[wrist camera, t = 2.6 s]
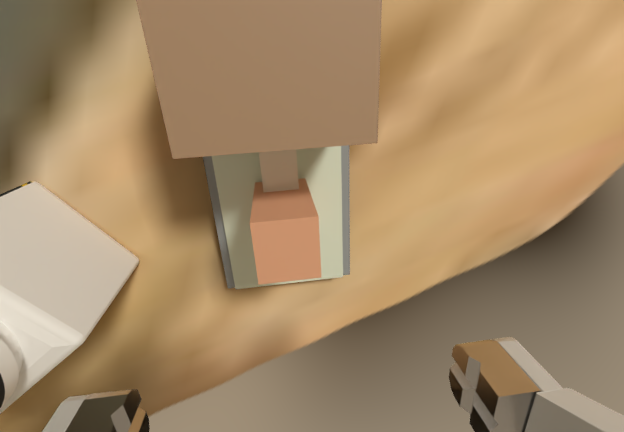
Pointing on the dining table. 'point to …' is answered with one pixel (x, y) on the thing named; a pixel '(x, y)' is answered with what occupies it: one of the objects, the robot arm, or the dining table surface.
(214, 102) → the tunnel board
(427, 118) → the dining table surface
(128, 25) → the dining table surface
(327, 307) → the dining table surface
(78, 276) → the medicine bottle
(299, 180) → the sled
